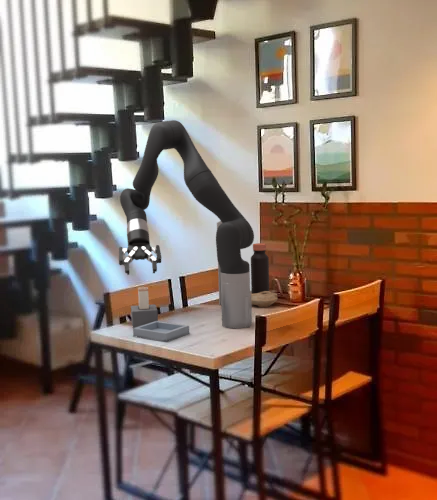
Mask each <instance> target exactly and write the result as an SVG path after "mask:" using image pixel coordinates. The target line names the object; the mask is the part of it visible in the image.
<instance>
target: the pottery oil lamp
mask: <svg viewBox="0 0 437 500" xmlns="http://www.w3.org/2000/svg"><path fill="white" fill-rule="evenodd" d="M250 294H251V301H252V305H253V306H257V307H260V308H268V307H270V306H271V305H274V304H275V302H277V300H279V298H278V294H277V293H276V292H271V291H270V290H269V291H264V292H260V293H255V294H252V293H250Z"/></svg>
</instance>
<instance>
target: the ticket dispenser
mask: <svg viewBox="0 0 437 500" xmlns="http://www.w3.org/2000/svg"><path fill="white" fill-rule="evenodd" d="M130 311H131V312H130V314H131V315H130V316H131V317H130V318H131V327H132V326H133V327H132V329H133V328H136V327H139V326H142V325H145V324H148V323H151V322H154V321H159V320H158V319H159V318H158V308H157V305H156V304H149V309H145V310H139V304H138V305H130Z"/></svg>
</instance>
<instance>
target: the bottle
mask: <svg viewBox="0 0 437 500" xmlns="http://www.w3.org/2000/svg"><path fill="white" fill-rule="evenodd" d="M266 250H267V244H266V243H264V242H263V243H252V252H253V253H252V255H251V256H250V292H251V294H255V293H260V292H264V291H270V268H269V267H270V266H269V264H270V263H269V262H270V261H269V260H270V259H269V256H268V255H267V254H266Z"/></svg>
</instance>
